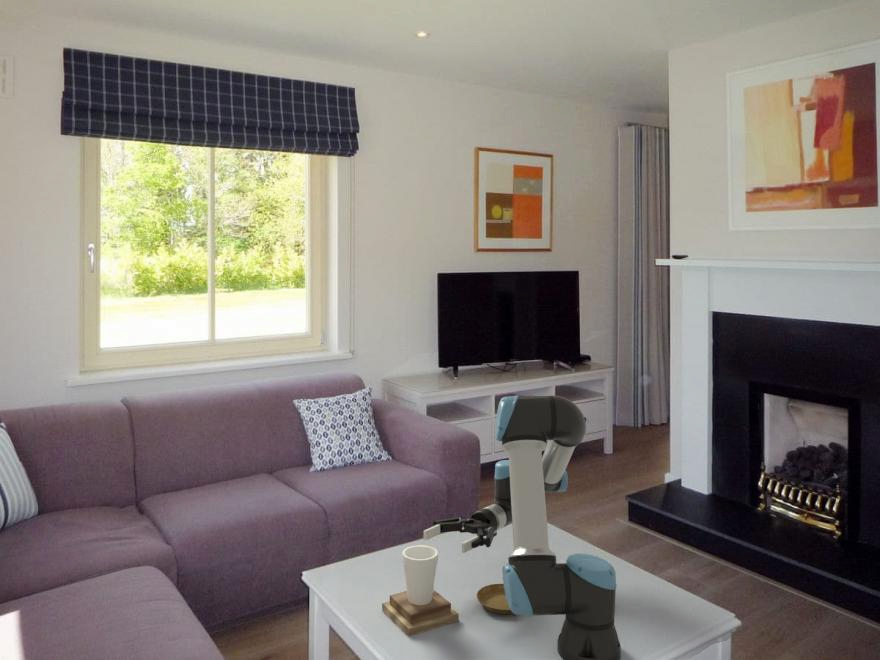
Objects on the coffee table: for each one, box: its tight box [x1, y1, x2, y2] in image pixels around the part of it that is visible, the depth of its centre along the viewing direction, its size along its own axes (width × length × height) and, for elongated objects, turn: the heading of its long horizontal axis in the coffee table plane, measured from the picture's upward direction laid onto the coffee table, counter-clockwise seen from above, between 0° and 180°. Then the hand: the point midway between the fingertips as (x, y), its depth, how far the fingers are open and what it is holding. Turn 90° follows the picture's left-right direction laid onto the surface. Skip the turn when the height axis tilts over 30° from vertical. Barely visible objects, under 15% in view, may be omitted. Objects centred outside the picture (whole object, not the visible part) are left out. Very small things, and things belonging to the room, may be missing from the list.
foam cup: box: [401, 544, 439, 605], centre depth 193 cm, size 10×9×13 cm
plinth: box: [381, 588, 460, 637], centre depth 194 cm, size 15×15×4 cm
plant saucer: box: [476, 583, 514, 615], centre depth 200 cm, size 15×15×3 cm
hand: (443, 541), depth 200 cm, fingers open, 13 cm apart
